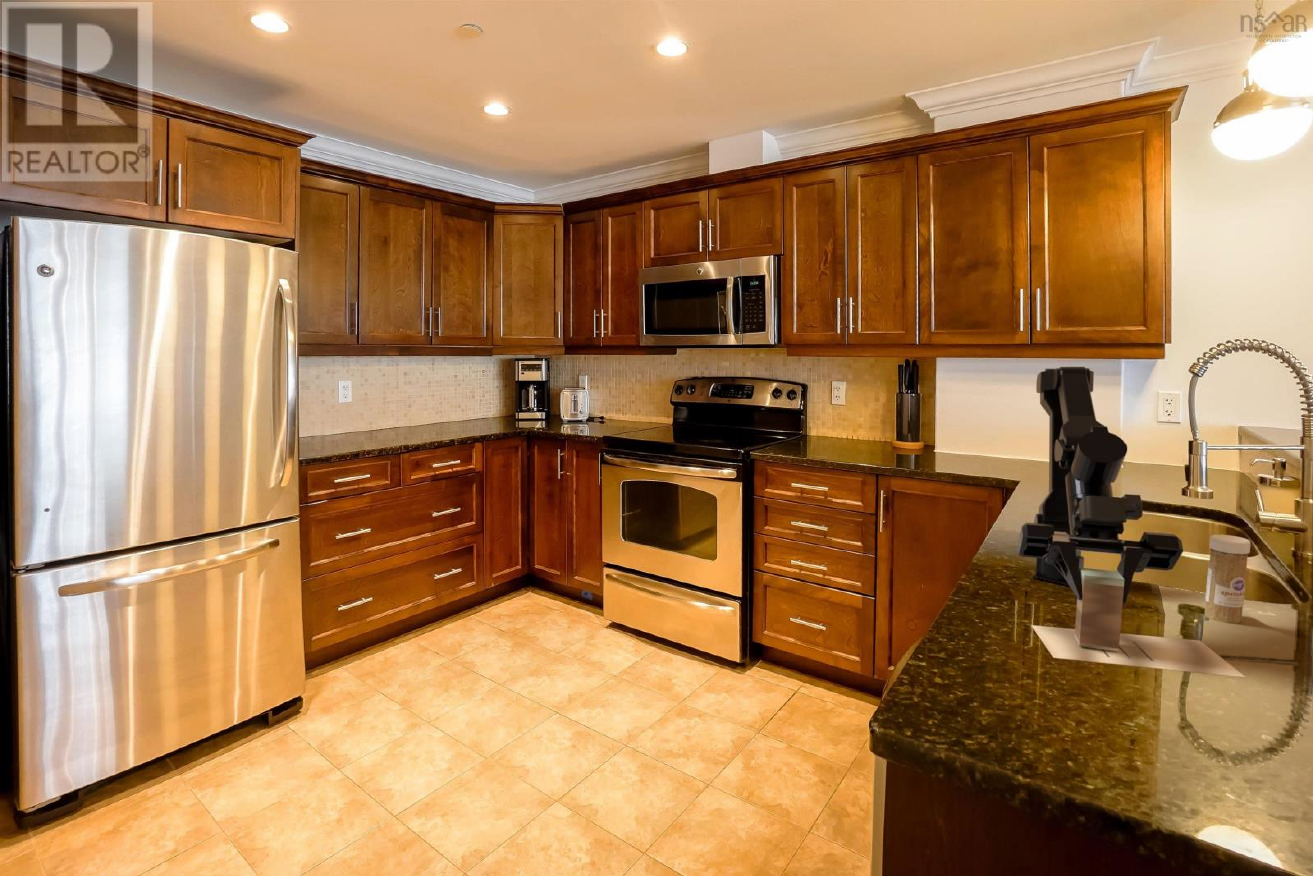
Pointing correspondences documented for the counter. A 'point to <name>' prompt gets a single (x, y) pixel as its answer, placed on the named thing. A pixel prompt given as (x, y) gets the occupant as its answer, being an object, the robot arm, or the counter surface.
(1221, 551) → the sprinkles bottle
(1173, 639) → the birch board
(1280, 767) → the counter surface
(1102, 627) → the block
